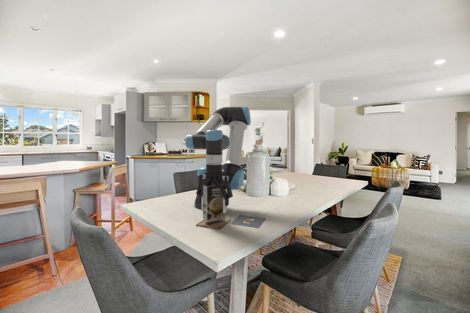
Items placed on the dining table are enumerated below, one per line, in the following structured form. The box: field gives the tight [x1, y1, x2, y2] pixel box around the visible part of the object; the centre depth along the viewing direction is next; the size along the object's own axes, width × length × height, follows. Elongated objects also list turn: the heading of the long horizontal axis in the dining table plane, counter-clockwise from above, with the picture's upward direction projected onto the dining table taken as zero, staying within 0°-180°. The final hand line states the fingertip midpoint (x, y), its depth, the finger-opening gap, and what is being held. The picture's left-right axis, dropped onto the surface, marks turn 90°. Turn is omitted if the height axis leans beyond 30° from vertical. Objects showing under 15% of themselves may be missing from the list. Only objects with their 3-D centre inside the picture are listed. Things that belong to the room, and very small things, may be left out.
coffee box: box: [202, 184, 226, 222], centre depth 108 cm, size 9×6×16 cm
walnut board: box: [195, 218, 232, 231], centre depth 109 cm, size 12×12×1 cm
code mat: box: [229, 214, 267, 229], centre depth 112 cm, size 14×14×1 cm
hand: (214, 211), depth 108 cm, fingers closed on coffee box, 10 cm apart
